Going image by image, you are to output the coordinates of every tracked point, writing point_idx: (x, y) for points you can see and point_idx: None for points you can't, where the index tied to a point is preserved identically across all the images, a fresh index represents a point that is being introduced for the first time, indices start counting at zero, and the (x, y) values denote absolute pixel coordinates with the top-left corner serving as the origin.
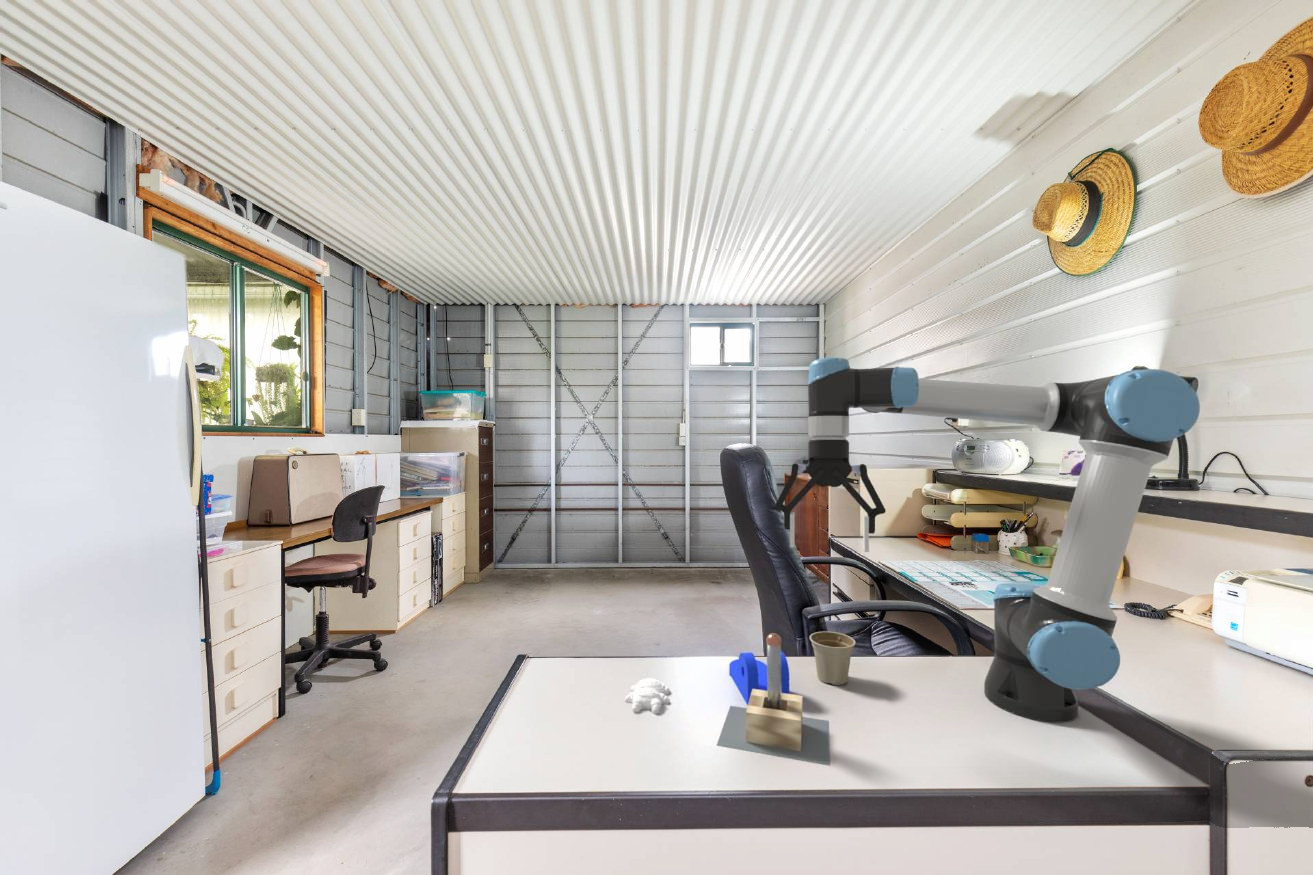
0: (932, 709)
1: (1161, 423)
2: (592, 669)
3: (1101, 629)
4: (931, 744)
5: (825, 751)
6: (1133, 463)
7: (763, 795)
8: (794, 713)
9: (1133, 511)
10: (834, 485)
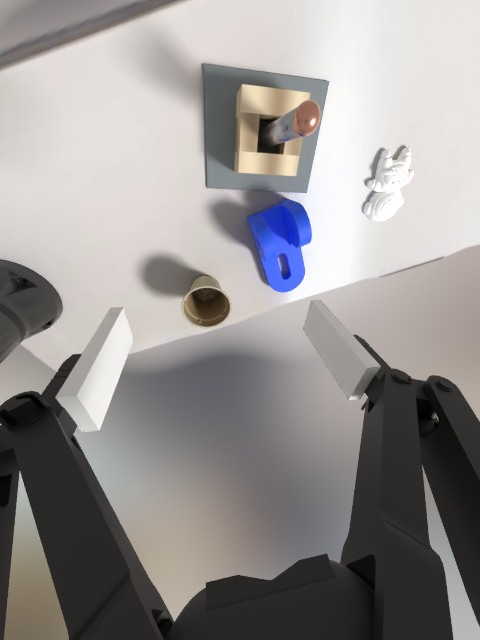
0: (106, 252)
1: None
2: (430, 236)
3: None
4: (97, 167)
5: (209, 104)
6: None
7: None
8: (249, 109)
9: None
10: (226, 599)
